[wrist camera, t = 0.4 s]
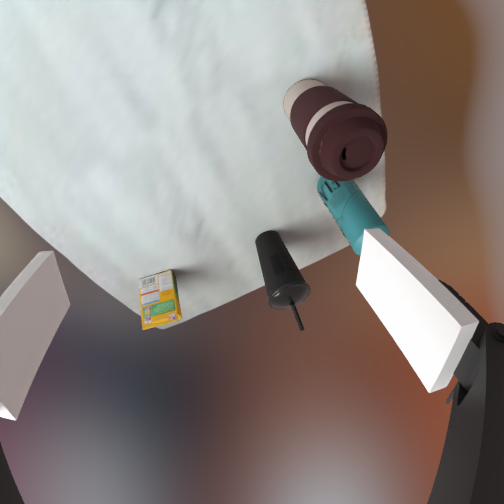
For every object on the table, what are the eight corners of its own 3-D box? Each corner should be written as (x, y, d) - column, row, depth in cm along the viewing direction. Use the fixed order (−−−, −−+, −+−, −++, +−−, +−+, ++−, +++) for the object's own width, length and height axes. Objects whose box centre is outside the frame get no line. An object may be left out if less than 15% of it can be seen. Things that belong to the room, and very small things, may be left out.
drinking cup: (241, 249, 62) (270, 341, 49) (260, 221, 57) (298, 316, 45) (272, 255, 66) (305, 340, 53) (293, 229, 61) (333, 317, 49)
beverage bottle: (324, 158, 50) (387, 246, 37) (352, 168, 53) (413, 251, 40) (305, 187, 54) (357, 278, 41) (333, 195, 57) (386, 280, 44)
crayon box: (144, 286, 63) (148, 336, 56) (138, 278, 60) (141, 329, 53) (176, 277, 63) (183, 327, 56) (171, 268, 61) (178, 320, 54)
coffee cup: (347, 85, 40) (409, 134, 31) (316, 137, 46) (364, 197, 37) (292, 59, 35) (349, 100, 26) (261, 119, 42) (301, 179, 32)
